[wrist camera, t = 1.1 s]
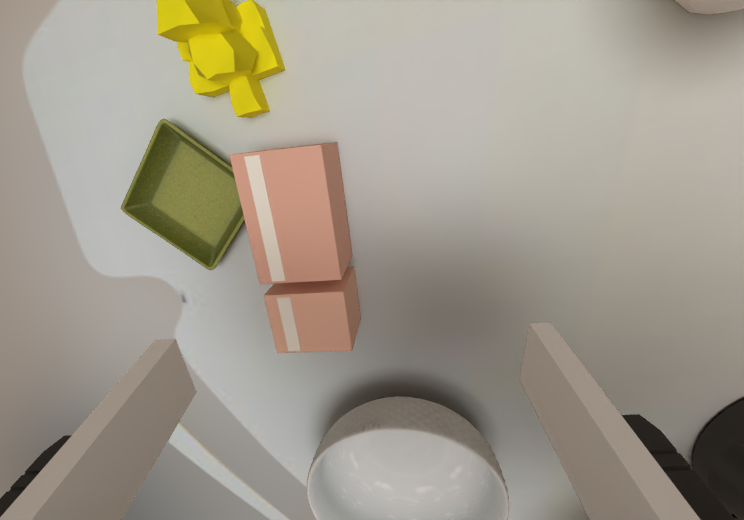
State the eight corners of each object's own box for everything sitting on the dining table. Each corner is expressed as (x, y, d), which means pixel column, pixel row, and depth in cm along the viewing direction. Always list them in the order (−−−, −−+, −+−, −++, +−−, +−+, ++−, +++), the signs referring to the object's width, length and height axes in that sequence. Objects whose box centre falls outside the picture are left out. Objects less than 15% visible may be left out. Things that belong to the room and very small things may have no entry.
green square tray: (178, 116, 27) (160, 115, 25) (272, 185, 28) (262, 190, 26) (138, 204, 30) (118, 209, 28) (224, 263, 31) (212, 272, 29)
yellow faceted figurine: (226, 126, 26) (156, 124, 19) (178, 7, 24) (76, -46, 16) (296, 101, 25) (250, 89, 18) (253, -26, 23) (179, -101, 15)
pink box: (360, 317, 31) (351, 351, 26) (296, 320, 32) (276, 353, 27) (354, 266, 29) (343, 292, 24) (286, 270, 30) (263, 296, 25)
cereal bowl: (498, 372, 31) (521, 437, 25) (485, 499, 37) (501, 579, 30) (316, 366, 33) (293, 425, 27) (331, 487, 39) (315, 560, 32)
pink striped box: (353, 262, 29) (342, 288, 24) (285, 266, 30) (261, 292, 25) (337, 142, 26) (320, 144, 21) (261, 150, 26) (228, 155, 22)
